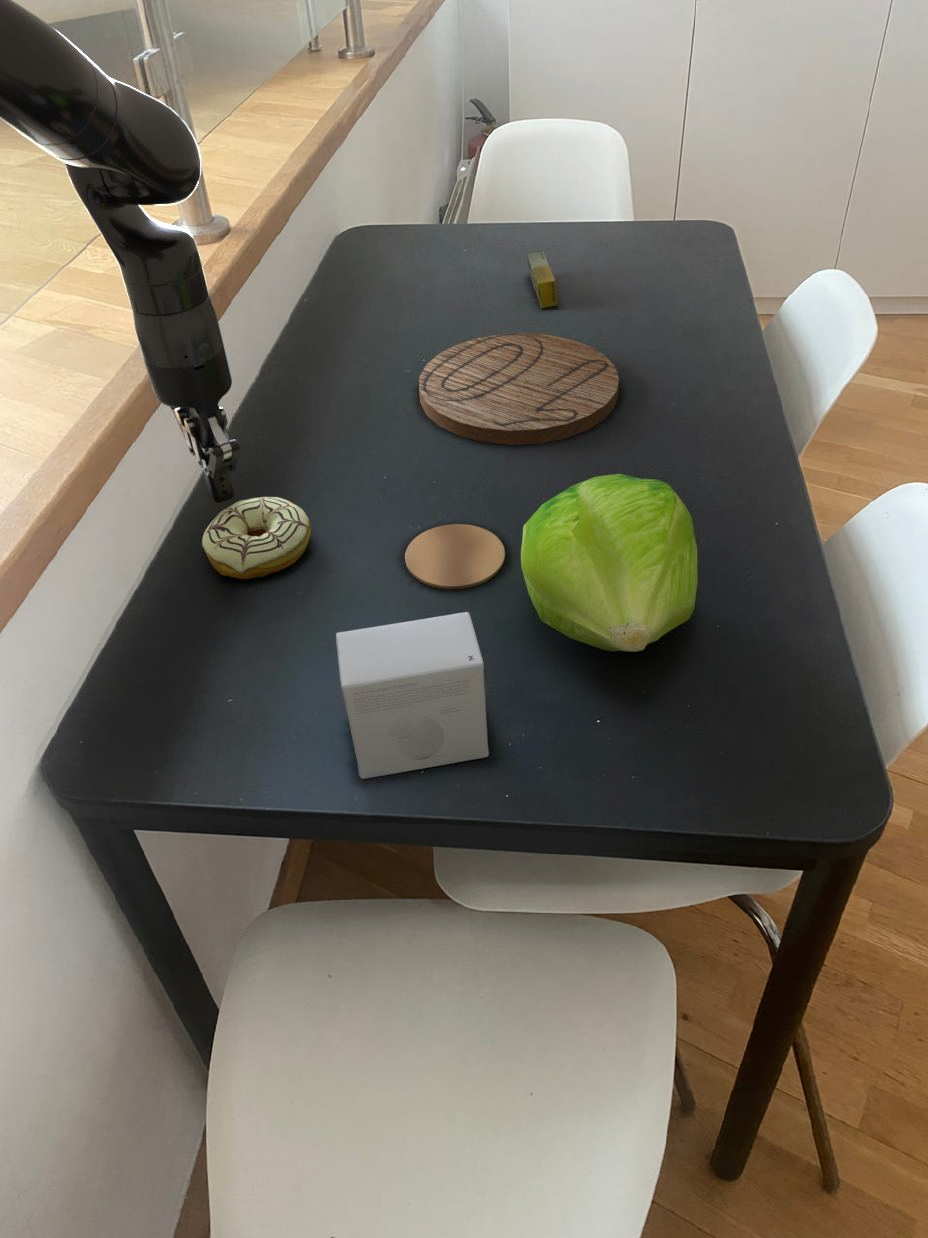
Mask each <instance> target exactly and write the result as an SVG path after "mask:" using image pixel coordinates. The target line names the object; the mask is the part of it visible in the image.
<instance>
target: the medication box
mask: <svg viewBox="0 0 928 1238" xmlns="http://www.w3.org/2000/svg"><path fill="white" fill-rule="evenodd" d="M526 256H527V266H528V272H529V273H528V274H529V279H530V281H531V283H532V284H531V285H532V286H533V289H534V292H535V295H536V298H537V301H538V304H539V306H540V309H545V308H551V307H556V306H559V305H558V304H559V303H558V293H557V283H556V279H555V276H554V274H553V272H552V268H551V266H550V264H549V262H548V259H547V256H546V254H545V252H544V250H536V251H531V252H528V253H526Z"/></svg>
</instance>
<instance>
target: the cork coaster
mask: <svg viewBox="0 0 928 1238" xmlns="http://www.w3.org/2000/svg"><path fill="white" fill-rule="evenodd" d="M502 542H503V541H501V539H500V538H499V537H498V536H497V535H495V533H493V532H491V531H489V530H488V529H486V528H483V527H480V526H476V525H473V524H466V523H452V524H451V523H450V524H443V525H439V526H435V527H432V528H430V529H427V530H425V531H424V532H423V531H422V532H421V533H419V535H417V536H416V537H415V538H414V539H412V541H410V543H409V544H408V546H407V548H406V550H405V554H404V559H405V566H406V569H407V570H408V572H409V573H410V575H411V576H412V577H413V578H414V579H416V580H417V581H419V582H421V583H422V584H424V585H426V586H429V587H432V588H435V589H436V588H437V589H441V590H442V589H443V590H461V589H468V588H473V587H476V586H479V585H481V584H483V583H486V582H487V581H489V580H491V579H492V578H493V577H495V576H496V575H497V574H498V573H499V572H500V571H501V569H502V568H503V565H504V563H505V560H506V551H505V547H504V544H503V543H502Z"/></svg>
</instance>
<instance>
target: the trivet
mask: <svg viewBox="0 0 928 1238" xmlns="http://www.w3.org/2000/svg"><path fill="white" fill-rule="evenodd" d="M418 379H419V380H418V383H419V384H418V386H419V387H418V388H419V389H418V392H419V403H420V405H421V407H422V409H423V411H424V413H425V415H426V416H427V417H428V418H429V419H430V420H432V422H434V423H435V424H436V425H437V426H439V427H440V428H442V429H444V430H446V431H448V432H450V433H452V434H454V435H456V436H459V437H462V438H466V439H469V440H473V441H478V442H481V443H487V444H496V445H507V446H517V445H535V444H537V445H538V444H544V443H549V442H555V441H559V440H564V439H568V438H570V437H573V436H576V435H578V434H581V433H583V432H587V431H589V430H590V429H592V428H593V427H595V426H597V425H598V424H599V423H601V422H603V421H604V420H605V419H606V418H607V417H608V416H609V414H610V413H611V412H612V411H613V410H614V408H615V406H616V404H617V400H618V395H619V388H620V377H619V374H618V371H617V368H616V366H615V365H614V363H613V362H612V361H611V360H610V359H609V358H608V357H607V356H606V355H605V354H603V353H602V352H600V351H598V350H597V349H595V348H594V347H591V345H588V344H585V343H582V342H579V341H578V340H577V341H576V340H575V339H571V338H566V337H560V336H557V335H551V334H544V333H543V334H541V333H528V332H520V333H500V334H495V335H489V336H482V337H476V338H473V339H471V340H467V341H464V342H460V343H457V344H456V345H453V346H451V347H449V348H447V349H446V350H444V351H441V352H440V353H438V354H437V355H436V356H434V358H432V359H430V361H428V363H426V365H425V366H424V368H423V369H422V372H421V373H420V375H419V378H418Z"/></svg>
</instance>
